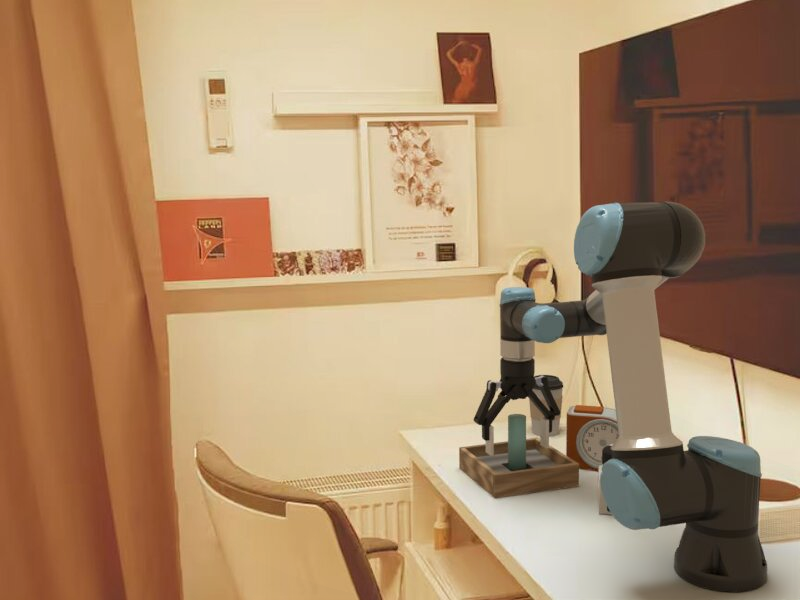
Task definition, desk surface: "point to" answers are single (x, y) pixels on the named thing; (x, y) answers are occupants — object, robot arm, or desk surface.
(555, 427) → the coffee cup
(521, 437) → the peg
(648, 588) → the desk surface
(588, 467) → the alarm clock
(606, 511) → the container
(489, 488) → the socket box
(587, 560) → the desk surface
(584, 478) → the desk surface
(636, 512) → the robot arm
